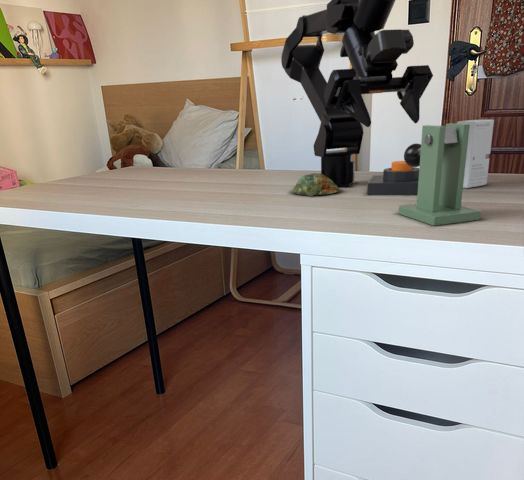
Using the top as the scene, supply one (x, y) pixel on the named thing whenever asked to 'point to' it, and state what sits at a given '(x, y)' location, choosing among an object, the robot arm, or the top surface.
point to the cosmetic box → (478, 152)
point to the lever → (415, 149)
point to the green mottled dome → (315, 185)
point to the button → (400, 166)
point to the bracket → (441, 179)
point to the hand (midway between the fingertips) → (393, 123)
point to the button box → (394, 183)
